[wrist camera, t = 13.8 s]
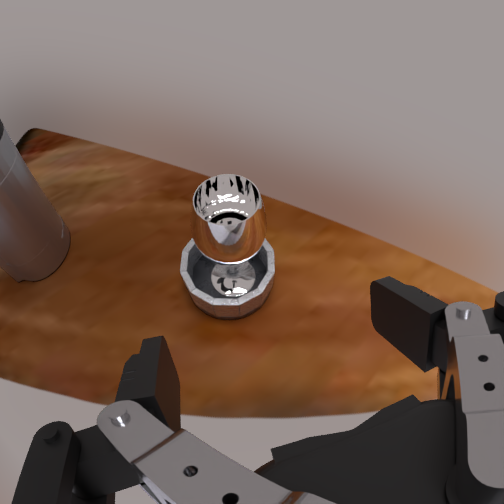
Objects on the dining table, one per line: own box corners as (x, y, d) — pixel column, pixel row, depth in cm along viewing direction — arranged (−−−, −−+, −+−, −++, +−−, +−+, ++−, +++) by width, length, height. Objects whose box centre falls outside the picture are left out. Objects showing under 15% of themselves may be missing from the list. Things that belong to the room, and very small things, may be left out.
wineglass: (235, 241, 34) (231, 157, 24) (274, 278, 32) (286, 200, 22) (193, 274, 32) (168, 197, 22) (230, 315, 30) (220, 249, 20)
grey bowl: (211, 335, 30) (206, 322, 27) (175, 266, 34) (167, 246, 30) (287, 294, 32) (292, 276, 29) (245, 232, 36) (244, 210, 33)
